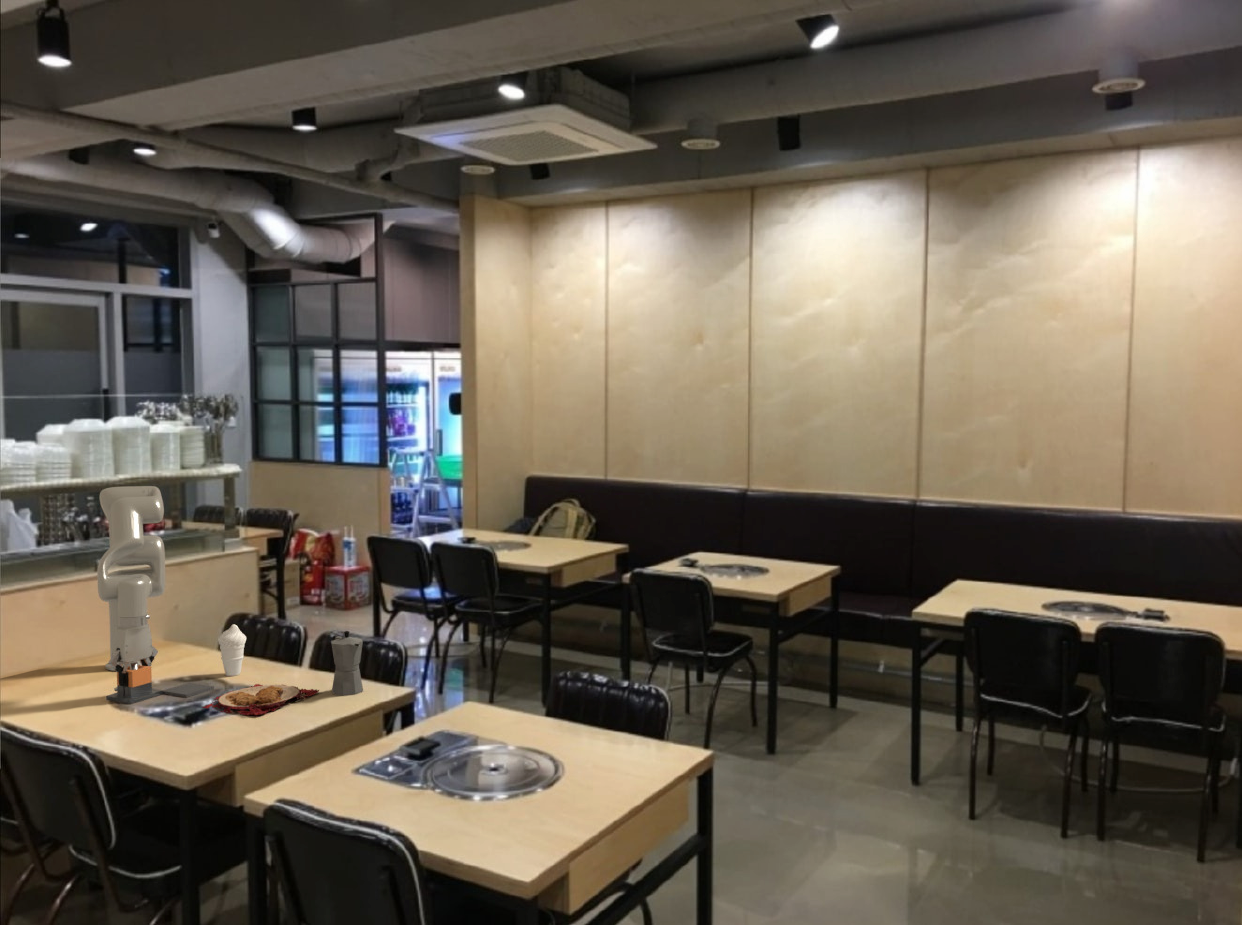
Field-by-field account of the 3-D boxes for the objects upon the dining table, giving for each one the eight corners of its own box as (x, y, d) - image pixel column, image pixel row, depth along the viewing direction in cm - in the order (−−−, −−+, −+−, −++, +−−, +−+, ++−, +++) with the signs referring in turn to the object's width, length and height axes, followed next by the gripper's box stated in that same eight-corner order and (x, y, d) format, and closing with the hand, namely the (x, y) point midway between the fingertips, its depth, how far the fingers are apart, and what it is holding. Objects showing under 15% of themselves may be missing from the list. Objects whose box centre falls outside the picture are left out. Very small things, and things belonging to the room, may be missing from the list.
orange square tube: (136, 679, 294) (135, 664, 293) (151, 681, 291) (151, 666, 291) (117, 684, 288) (116, 669, 288) (132, 687, 285) (132, 671, 285)
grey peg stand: (138, 690, 297) (138, 657, 296) (162, 694, 292) (162, 660, 292) (106, 699, 287) (105, 665, 286) (130, 704, 282) (129, 669, 282)
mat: (189, 685, 302) (189, 682, 302) (213, 688, 298) (213, 686, 298) (161, 693, 293) (161, 690, 293) (186, 697, 289) (186, 694, 289)
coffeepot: (373, 692, 294) (372, 632, 293) (344, 699, 287) (343, 637, 287) (347, 682, 305) (346, 624, 304) (318, 688, 298) (317, 628, 298)
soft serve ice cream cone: (212, 676, 312) (211, 625, 312) (230, 670, 320) (229, 620, 320) (235, 678, 310) (234, 627, 309) (252, 672, 318) (251, 622, 317)
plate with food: (320, 696, 293) (320, 684, 293) (258, 718, 269) (258, 705, 269) (256, 689, 302) (256, 677, 302) (190, 710, 278) (190, 697, 278)
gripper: (149, 615, 298) (150, 674, 299) (97, 626, 282) (98, 688, 283) (167, 617, 295) (168, 677, 296) (115, 628, 279) (117, 692, 280)
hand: (134, 682), depth 289 cm, fingers closed on orange square tube, 6 cm apart
